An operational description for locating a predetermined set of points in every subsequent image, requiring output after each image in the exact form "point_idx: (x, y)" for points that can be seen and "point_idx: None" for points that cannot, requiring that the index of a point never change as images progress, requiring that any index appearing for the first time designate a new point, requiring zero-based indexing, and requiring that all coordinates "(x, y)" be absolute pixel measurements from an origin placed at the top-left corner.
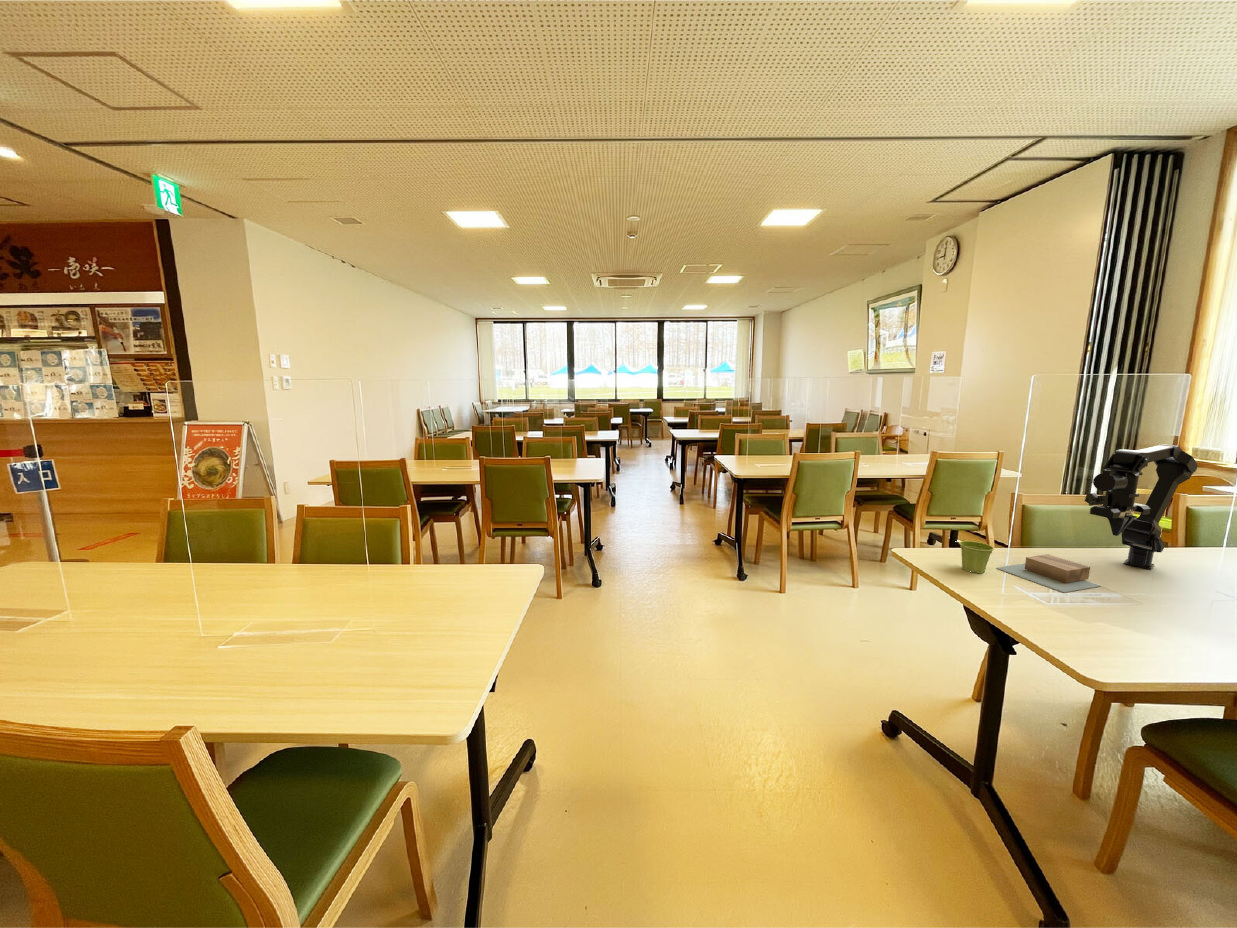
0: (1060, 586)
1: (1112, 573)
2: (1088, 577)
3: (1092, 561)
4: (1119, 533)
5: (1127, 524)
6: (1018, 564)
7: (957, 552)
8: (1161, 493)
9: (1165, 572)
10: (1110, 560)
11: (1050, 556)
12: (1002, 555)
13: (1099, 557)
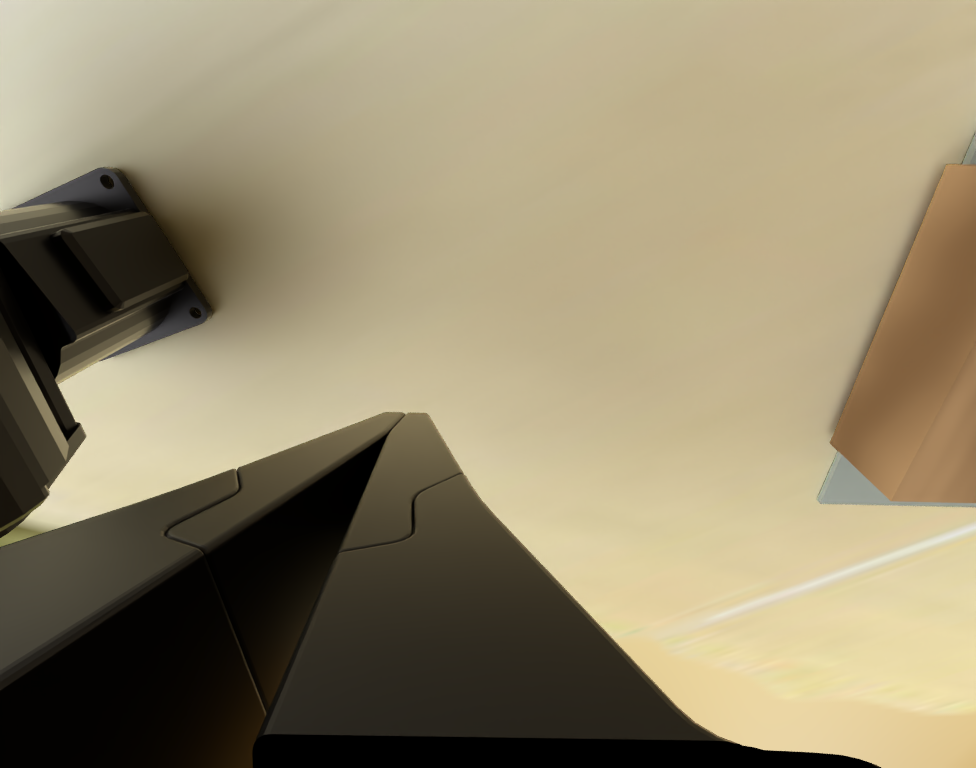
0: None
1: (521, 216)
2: (963, 164)
3: (382, 412)
4: (386, 422)
5: (214, 505)
6: (935, 504)
7: (949, 680)
8: None
9: (36, 82)
10: (233, 389)
11: (951, 465)
12: (792, 606)
13: (251, 442)
